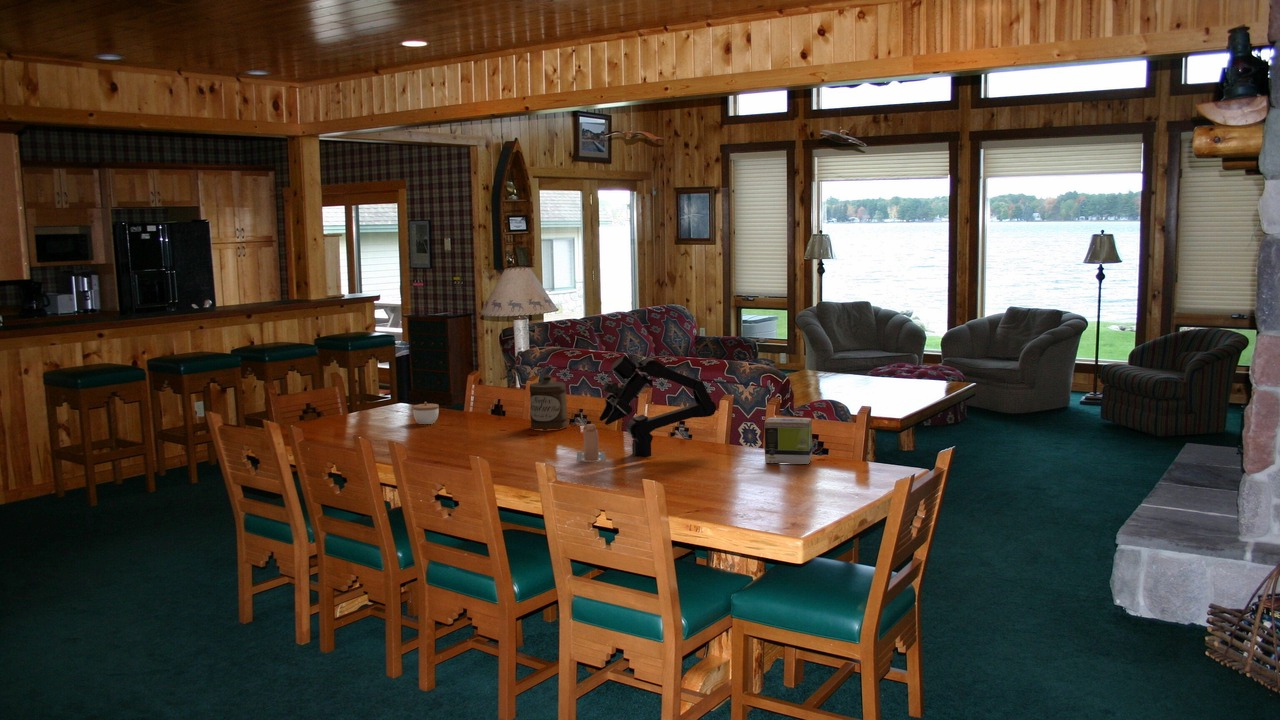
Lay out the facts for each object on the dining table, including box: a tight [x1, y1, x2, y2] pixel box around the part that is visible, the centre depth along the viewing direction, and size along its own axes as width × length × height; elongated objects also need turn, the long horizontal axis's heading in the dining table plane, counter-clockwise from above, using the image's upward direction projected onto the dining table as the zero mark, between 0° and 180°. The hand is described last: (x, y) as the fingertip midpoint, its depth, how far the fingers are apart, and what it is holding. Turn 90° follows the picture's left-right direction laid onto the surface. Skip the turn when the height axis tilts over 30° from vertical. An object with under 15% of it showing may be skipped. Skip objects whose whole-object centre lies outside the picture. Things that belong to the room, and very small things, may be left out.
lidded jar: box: [412, 401, 440, 425], centre depth 428 cm, size 11×11×9 cm
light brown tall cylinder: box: [583, 423, 600, 461], centre depth 350 cm, size 5×5×12 cm
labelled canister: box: [529, 374, 568, 430], centre depth 413 cm, size 15×15×22 cm
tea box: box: [764, 416, 813, 465], centre depth 345 cm, size 15×10×15 cm
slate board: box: [576, 451, 607, 463], centre depth 355 cm, size 16×10×1 cm, turn 3°
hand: (602, 422), depth 351 cm, fingers open, 9 cm apart
